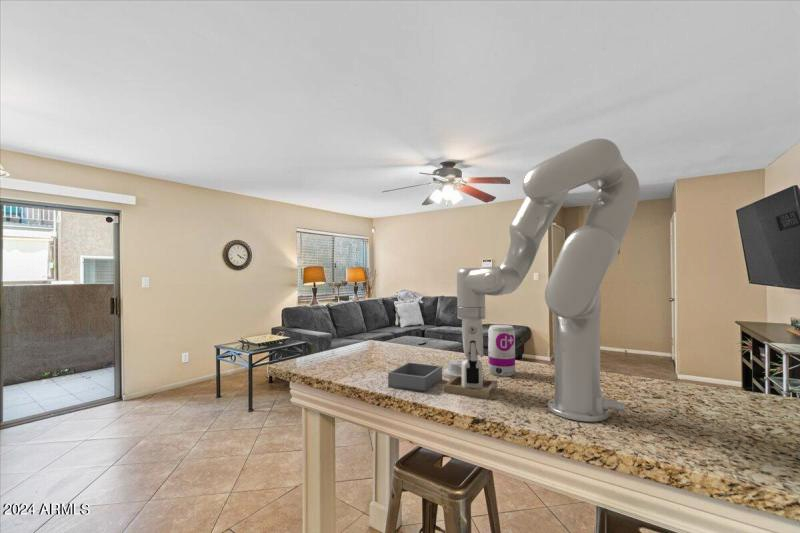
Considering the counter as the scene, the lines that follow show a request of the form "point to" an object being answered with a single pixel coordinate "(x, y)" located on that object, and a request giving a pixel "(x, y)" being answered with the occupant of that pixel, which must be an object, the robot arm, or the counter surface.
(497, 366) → the supplement can
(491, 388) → the shallow brown tray
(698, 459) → the counter surface
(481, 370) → the eye dropper bottle
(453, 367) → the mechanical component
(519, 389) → the counter surface
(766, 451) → the counter surface
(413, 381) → the bin
